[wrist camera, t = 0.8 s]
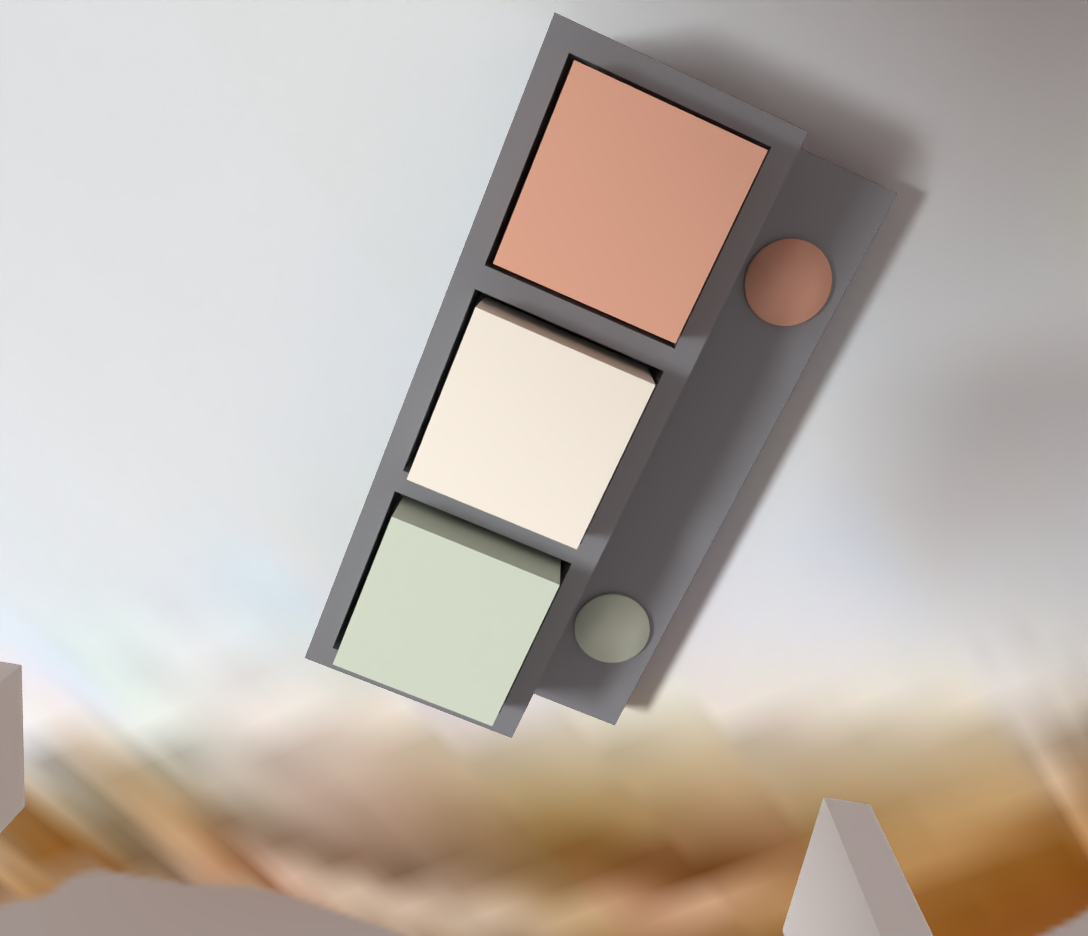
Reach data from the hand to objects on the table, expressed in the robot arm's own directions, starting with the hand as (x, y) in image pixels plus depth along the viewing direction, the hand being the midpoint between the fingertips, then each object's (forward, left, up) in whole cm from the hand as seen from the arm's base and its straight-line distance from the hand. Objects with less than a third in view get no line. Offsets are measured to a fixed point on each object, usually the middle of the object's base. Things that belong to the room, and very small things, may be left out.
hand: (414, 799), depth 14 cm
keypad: (+2, +3, -21) cm, 21 cm away
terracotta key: (0, +10, -18) cm, 20 cm away
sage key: (0, -5, -18) cm, 18 cm away
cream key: (0, +3, -17) cm, 18 cm away
